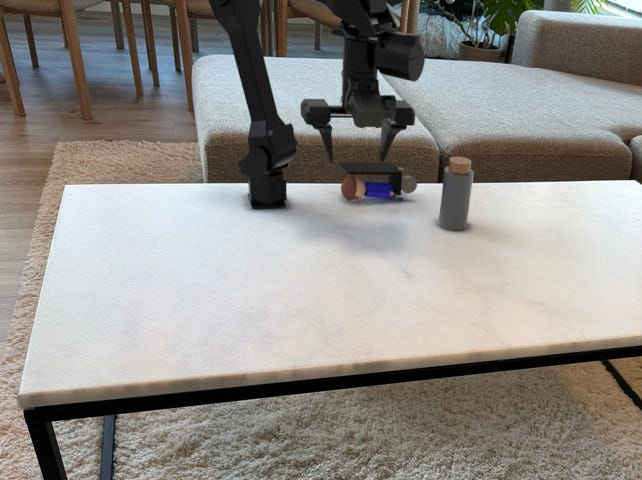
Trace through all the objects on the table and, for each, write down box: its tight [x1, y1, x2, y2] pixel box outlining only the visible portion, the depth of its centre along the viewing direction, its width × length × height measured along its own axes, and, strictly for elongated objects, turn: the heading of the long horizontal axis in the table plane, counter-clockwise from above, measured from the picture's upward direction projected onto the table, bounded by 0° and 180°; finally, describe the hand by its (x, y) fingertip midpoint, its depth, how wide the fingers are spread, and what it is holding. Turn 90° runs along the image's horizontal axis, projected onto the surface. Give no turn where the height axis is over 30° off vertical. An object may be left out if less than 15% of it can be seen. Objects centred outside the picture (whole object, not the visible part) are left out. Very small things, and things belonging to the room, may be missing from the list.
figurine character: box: [339, 161, 418, 202], centre depth 141 cm, size 7×8×15 cm
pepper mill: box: [437, 156, 475, 232], centre depth 133 cm, size 6×6×13 cm
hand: (356, 161), depth 122 cm, fingers open, 9 cm apart
